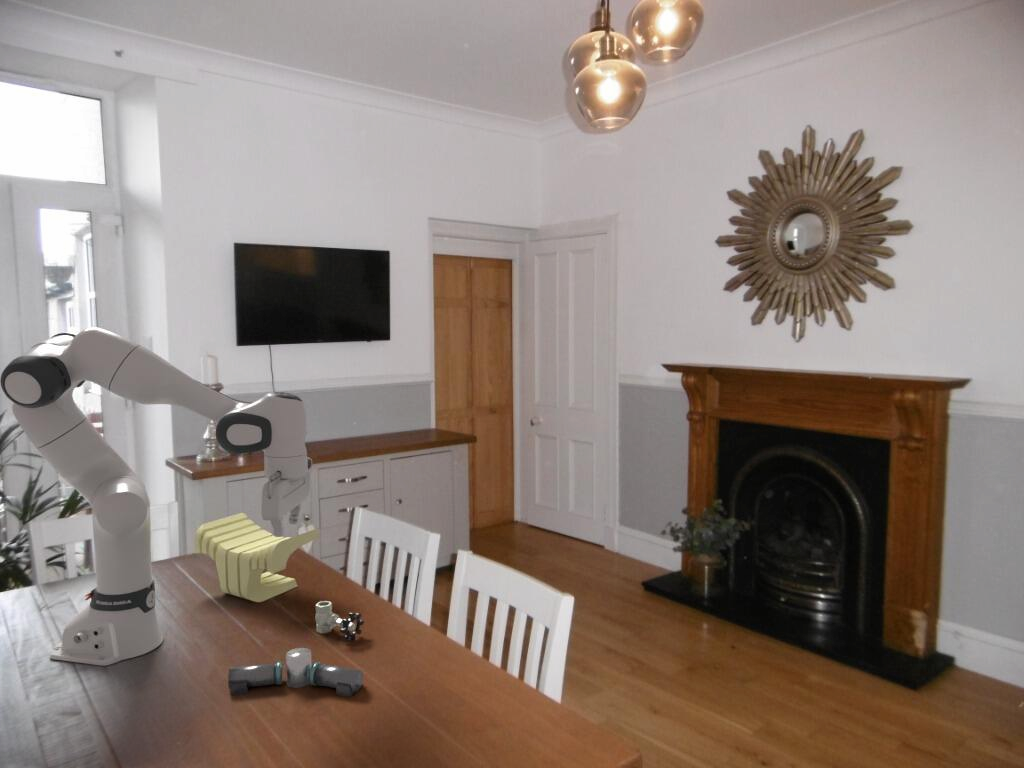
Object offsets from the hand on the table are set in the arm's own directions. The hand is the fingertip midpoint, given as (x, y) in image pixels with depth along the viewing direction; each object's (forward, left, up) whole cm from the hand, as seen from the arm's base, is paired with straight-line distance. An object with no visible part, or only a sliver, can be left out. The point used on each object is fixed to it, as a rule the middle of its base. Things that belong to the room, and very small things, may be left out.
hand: (286, 529), depth 157 cm
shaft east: (+14, -14, -28) cm, 35 cm away
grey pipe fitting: (-2, -14, -28) cm, 32 cm away
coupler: (+6, -12, -28) cm, 31 cm away
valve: (+7, +10, -29) cm, 31 cm away
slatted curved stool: (-21, +35, -29) cm, 50 cm away
